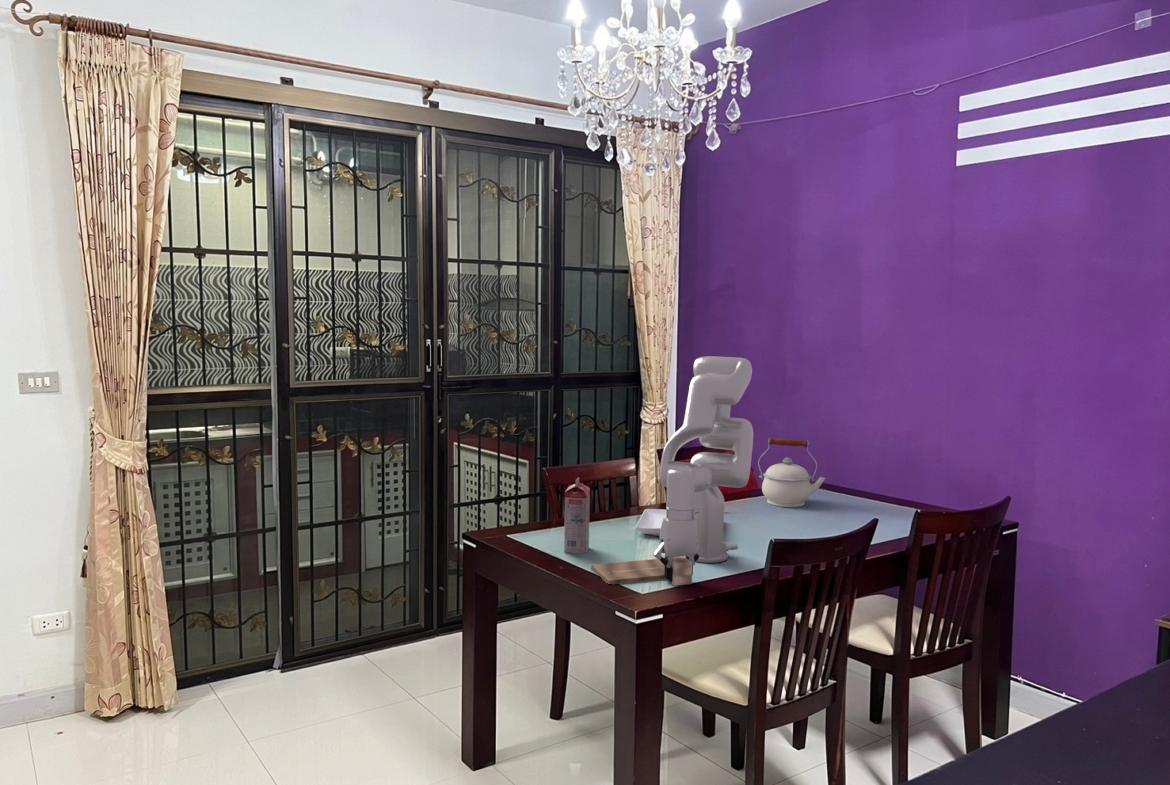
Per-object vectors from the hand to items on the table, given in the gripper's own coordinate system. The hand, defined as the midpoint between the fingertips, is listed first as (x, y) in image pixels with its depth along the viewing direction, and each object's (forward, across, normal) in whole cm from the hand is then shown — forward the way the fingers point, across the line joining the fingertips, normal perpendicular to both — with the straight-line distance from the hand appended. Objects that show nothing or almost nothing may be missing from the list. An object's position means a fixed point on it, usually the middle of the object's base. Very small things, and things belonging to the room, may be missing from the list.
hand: (678, 578), depth 226 cm
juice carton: (+1, +17, -36) cm, 40 cm away
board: (+1, +8, -10) cm, 13 cm away
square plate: (+2, -24, -49) cm, 55 cm away
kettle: (+1, -81, -71) cm, 108 cm away
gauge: (+1, 0, -3) cm, 3 cm away
